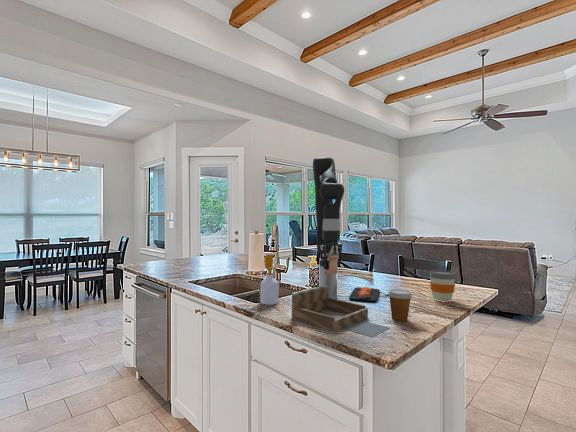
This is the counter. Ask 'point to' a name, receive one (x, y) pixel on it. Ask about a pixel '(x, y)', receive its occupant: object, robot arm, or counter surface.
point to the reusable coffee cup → (442, 284)
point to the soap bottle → (269, 284)
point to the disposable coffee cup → (399, 304)
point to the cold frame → (317, 300)
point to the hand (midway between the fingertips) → (330, 268)
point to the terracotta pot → (332, 264)
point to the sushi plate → (365, 294)
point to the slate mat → (367, 328)
